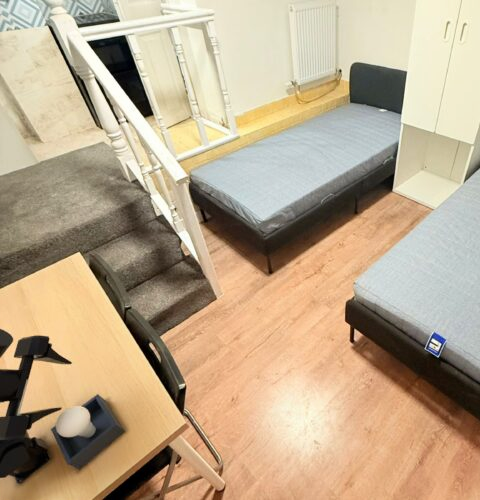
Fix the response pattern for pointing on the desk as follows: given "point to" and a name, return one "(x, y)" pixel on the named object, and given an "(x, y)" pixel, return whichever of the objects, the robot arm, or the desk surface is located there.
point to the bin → (84, 448)
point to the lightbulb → (75, 423)
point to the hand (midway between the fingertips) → (65, 385)
